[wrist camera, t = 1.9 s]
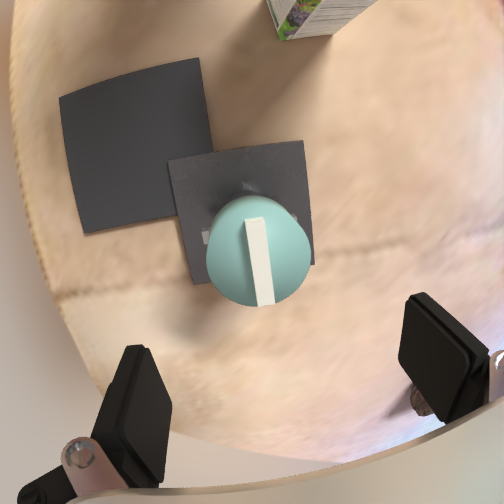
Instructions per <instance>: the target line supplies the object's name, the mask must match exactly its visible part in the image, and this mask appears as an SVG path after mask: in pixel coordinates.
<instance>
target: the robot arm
mask: <svg viewBox="0 0 504 504" xmlns="http://www.w3.org/2000/svg"><path fill="white" fill-rule="evenodd" d="M488 352H489V349H488V348H487V347H486V346H485V345H484V344H483V343H482V342H480V341H479V340H478V339H477V338H476V337H475V336H474V335H473V334H472V333H471V332H470V331H469V330H467V329H466V328H465V327H464V326H463V325H462V324H461V323H460V322H459V321H457V320H456V319H455V318H454V317H453V316H452V315H451V314H450V313H448V312H447V311H446V310H445V309H444V308H443V307H442V306H440V305H439V304H438V303H437V302H436V301H435V300H433V299H432V298H431V297H430V296H429V295H428V294H426V293H425V292H421V293H418V294H414V295H411V296H410V297H409V299H408V300H407V301H406V303H405V311H404V319H403V327H402V334H401V341H400V347H399V354H398V360H399V363H400V365H401V366H402V368H403V369H404V371H405V372H406V373H407V375H408V376H409V378H410V379H411V380H412V382H413V383H414V385H415V386H416V387H417V389H418V390H419V392H420V393H421V395H422V396H423V397H424V399H425V400H426V402H427V403H428V405H429V406H430V408H431V409H432V411H433V412H434V413H435V415H436V416H437V418H438V419H439V421H441V422H444V423H445V424H446V425H445V426H443V427H441V428H438V429H436V430H434V431H432V432H430V433H428V434H425V435H423V436H421V437H418V438H416V439H414V440H411V441H409V442H406V443H404V444H401V445H398V446H396V447H393V448H390V449H388V450H385V451H382V452H379V453H376V454H373V455H370V456H367V457H364V458H361V459H358V460H355V461H351V462H348V463H344V464H341V465H338V466H334V467H330V468H326V469H322V470H318V471H313V472H309V473H304V474H299V475H295V476H289V477H285V478H279V479H273V480H266V481H260V482H252V483H244V484H235V485H224V486H211V487H193V488H159V483H162V482H163V480H164V473H165V463H166V454H167V445H168V437H169V429H170V421H171V414H172V402H171V399H170V397H169V394H168V392H167V390H166V388H165V385H164V383H163V381H162V378H161V376H160V374H159V371H158V369H157V366H156V364H155V362H154V359H153V357H152V354H151V352H150V349H149V348H145V347H144V346H143V345H142V344H140V345H129V346H126V348H125V351H124V353H123V355H122V358H121V361H120V363H119V366H118V368H117V371H116V373H115V376H114V379H113V381H112V383H110V385H109V386H108V389H107V392H106V394H105V397H104V400H103V402H102V405H101V408H100V411H99V414H98V417H97V419H96V422H95V425H94V428H93V431H92V434H91V437H90V438H88V437H79V438H76V439H73V440H72V441H70V442H69V443H67V445H66V446H65V447H64V448H63V451H62V453H61V462H62V465H60V466H58V467H57V468H55V469H54V470H52V471H50V472H48V473H47V474H45V475H43V476H41V477H39V478H38V479H36V480H34V481H32V482H31V483H29V484H27V485H25V486H24V487H23V488H22V489H21V490H20V492H19V494H18V497H17V504H504V350H500V351H497V352H495V353H494V354H493V355H492V356H491V357H490V356H489V355H488Z"/></svg>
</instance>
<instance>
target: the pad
mask: <svg viewBox="0 0 504 504" xmlns="http://www.w3.org/2000/svg"><path fill="white" fill-rule="evenodd" d="M59 104H60V113H61V121H62V129H63V136H64V142H65V148H66V154H67V160H68V165H69V170H70V176H71V180H72V185H73V190H74V194H75V199H76V203H77V207H78V211H79V215H80V219H81V223H82V227H83V230H84V234H85V233H89V232H94V231H98V230H103V229H108V228H112V227H117V226H122V225H127V224H131V223H136V222H141V221H146V220H151V219H157V218H162V217H167V216H172V215H178V212H177V207H176V202H175V197H174V192H173V187H172V181H171V176H170V171H169V165H168V161H170V160H174V159H179V158H185V157H190V156H195V155H201V154H206V153H212V152H213V148H212V142H211V136H210V129H209V123H208V116H207V110H206V103H205V96H204V89H203V82H202V75H201V68H200V61H199V57H198V58H193V59H187V60H182V61H177V62H173V63H168V64H164V65H159V66H155V67H151V68H147V69H143V70H140V71H136V72H132V73H129V74H125V75H122V76H118V77H115V78H112V79H109V80H106V81H103V82H100V83H97V84H94V85H91V86H88V87H85V88H83V89H80V90H77V91H75V92H72V93H70V94H67V95H65V96H62V97H60V98H59Z"/></svg>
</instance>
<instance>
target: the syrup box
mask: <svg viewBox="0 0 504 504" xmlns="http://www.w3.org/2000/svg"><path fill="white" fill-rule="evenodd" d="M266 1H267V4H268V7H269V10H270V13H271V16H272V19H273V22H274V25H275V27H276V30H277V33H278V36H279V39H280V41H284V40H291V39H297V38H304V37H311V36H320V35H331V34H335V33H336V32H337V31H339V30H340V29H341V28H342V27H343V26H345V25H346V24H347V23H349V22H350V21H351V20H352V19H354V18H355V17H356V16H357V15H359V14H360V13H361V12H363V11H364V10H365V9H367V8H368V7H369V6H371V5H372V4H373V3H374V2H376V1H377V0H266Z"/></svg>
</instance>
